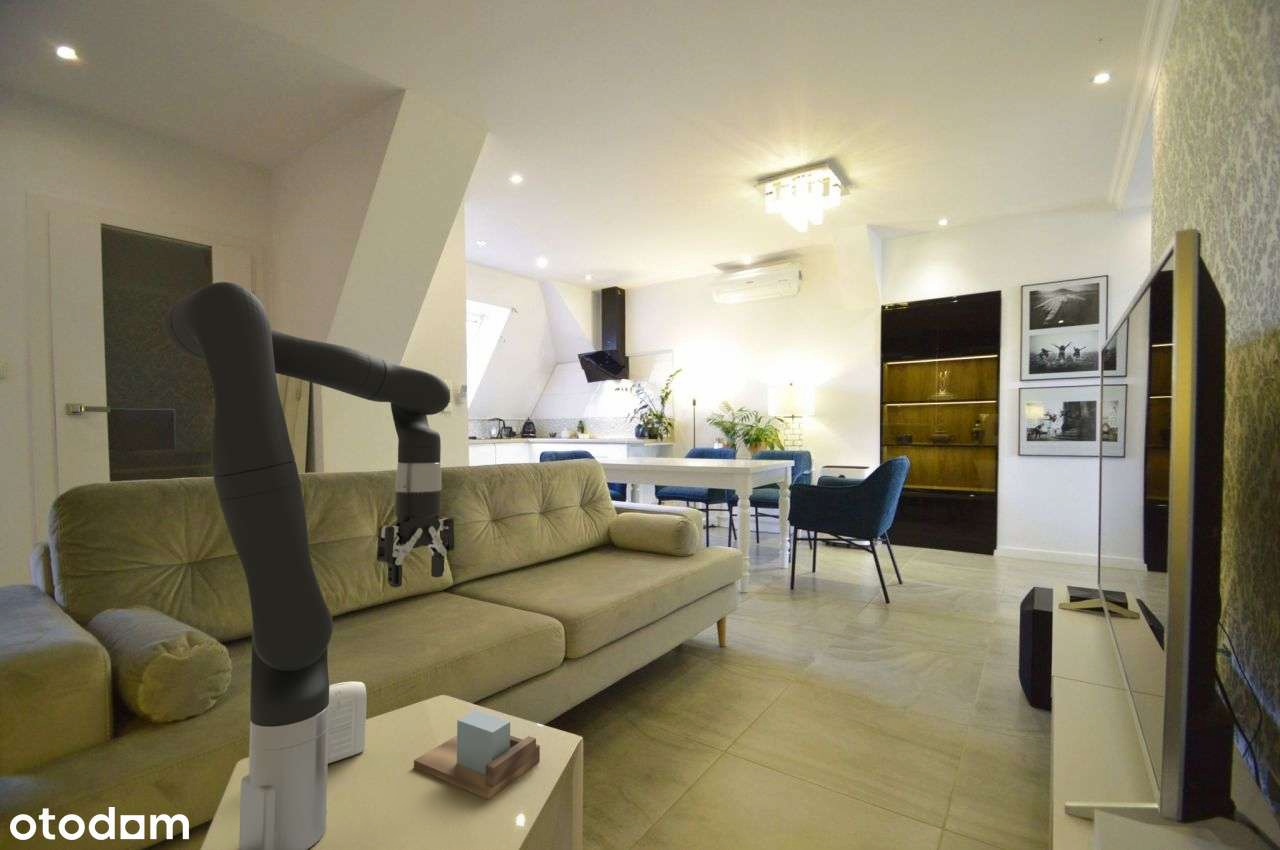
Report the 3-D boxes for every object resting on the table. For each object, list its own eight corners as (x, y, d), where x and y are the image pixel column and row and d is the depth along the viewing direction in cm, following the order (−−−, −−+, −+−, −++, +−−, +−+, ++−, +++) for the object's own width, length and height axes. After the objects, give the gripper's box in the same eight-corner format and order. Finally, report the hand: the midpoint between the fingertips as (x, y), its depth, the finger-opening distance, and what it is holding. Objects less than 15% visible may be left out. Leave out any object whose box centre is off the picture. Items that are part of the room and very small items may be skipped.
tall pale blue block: (492, 777, 88) (492, 732, 89) (456, 763, 92) (457, 720, 93) (509, 765, 92) (510, 721, 92) (474, 751, 96) (475, 710, 96)
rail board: (488, 799, 85) (488, 771, 85) (413, 767, 93) (414, 741, 93) (539, 761, 95) (539, 735, 95) (468, 735, 104) (468, 712, 104)
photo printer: (360, 742, 101) (362, 673, 102) (368, 751, 98) (370, 680, 99) (295, 764, 94) (297, 690, 95) (302, 775, 91) (304, 698, 92)
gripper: (397, 492, 90) (395, 593, 89) (465, 486, 102) (463, 576, 102) (368, 490, 94) (366, 587, 93) (437, 485, 106) (435, 571, 106)
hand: (417, 581), depth 97 cm, fingers open, 8 cm apart
